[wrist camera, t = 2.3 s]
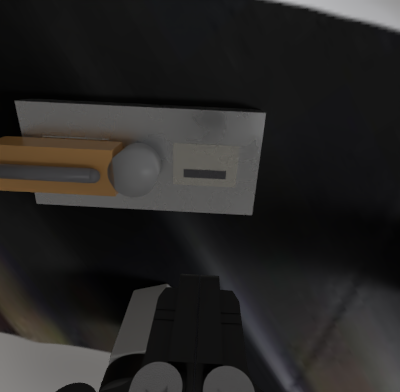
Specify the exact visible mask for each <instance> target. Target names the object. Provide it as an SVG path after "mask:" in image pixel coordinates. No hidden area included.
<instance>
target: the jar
mask: <svg viewBox="0 0 400 392" xmlns="http://www.w3.org/2000/svg"><path fill="white" fill-rule="evenodd" d="M166 287H171V286H169V285H168V284H163V285H158V286H153V287H148V288H142V289H137V290H134V291H133V294H132V297H131V299H130V302H129V305H128V308H127V311H126V314H125V316H124V319H123V322H122V325H121V328H120V330H119V333H118V336H117V339H116V342H115V345H114V347H113V350H112V353H111V356H110V361H109V366H108V368H107V370H106V372H105V375H104V378H103V381H102V383H101V387H100V389H99V392H100V391H104V390H107V389H111V388H114V387H117V386H120V385H122V384H124V383H126V382H128V381H129V380H130V379H132V378H133V377H134V376H135V375H136V373H137V372H138V371H139V369H140V368H141V366H142V363H143V360H144V356H145V352H146V347H147V343H148V339H149V335H150V330H151V326H152V322H153V317H154V313H155V310H156V305H157V300H158V297H159V295H160V294H161V293H162V292H163V290H164V289H165V288H166Z"/></svg>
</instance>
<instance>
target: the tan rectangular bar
mask: <svg viewBox="0 0 400 392" xmlns="http://www.w3.org/2000/svg"><path fill="white" fill-rule="evenodd" d="M161 169H162V163H161V159H160V156H159V155H158V153H157V152H156V151H155V150H154V149H153V148H152V147H151V146H149V145H146V144H143V143H133V144H130V145H128V146H126V147H125V148H124V149H123V144H122V142H113V141H93V140H73V139H54V138H34V137H14V136H5V137H1V138H0V190H3V191H22V192H40V193H59V194H78V195H96V196H116V195H117V194H118V193H120V194H122V195H124V196H127V197H141V196H144V195H146V194H147V193H149V192H150V191H151V190H152V188H153V187H154V185H155V183H156V181H157V179H158V177H159V175H160V172H161Z"/></svg>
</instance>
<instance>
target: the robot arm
mask: <svg viewBox="0 0 400 392" xmlns="http://www.w3.org/2000/svg"><path fill="white" fill-rule="evenodd" d="M198 286H199V275H189V274H181V275H180V282H179V288H174V287H166V288H165V289H164V290H163V292H162V293H161V294H160V295H159V297H158V300H157V305H156V310H155V313H154V317H153V322H152V326H151V330H150V335H149V339H148V343H147V347H146V352H145V356H144V360H143V363H142V366H141V368H140V369H139V371H138V372H137V373H136V375H135V376H134V377H133V378H132V379H130V380H129V381H128V382H126V383H124V384H122V385H120V386H117V387H114V388H111V389H107V390H104V391H100V392H193V377H194V359H195V341H196V323H197V305H198ZM56 392H96V391H95V390H94V388H93V387H91V386H90V385H88V384H85V383H73V384H69V385H66V386H65V387H62V388H61V389H59V390H58V391H56ZM195 392H263V391H262V390H261V389H260V388H259V387H258V386H257V385H256V384H255V383H254V381H253V380H252V378H251V376H250V374H249V371H248V367H247V360H246V353H245V345H244V337H243V329H242V321H241V313H240V305H239V301H238V299H237V297H236V296H235V294H234V293H233V291H227V290H220V284H219V276H208V275H201V279H200V297H199V315H198V335H197V356H196V376H195Z"/></svg>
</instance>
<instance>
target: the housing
mask: <svg viewBox="0 0 400 392" xmlns="http://www.w3.org/2000/svg"><path fill="white" fill-rule="evenodd" d="M15 106H16V110H17V115H18V119H19V124H20V128H21V133H22V137H34V138H54V139H73V140H93V141H113V142H122V144H123V149H124V148H125V147H126V146H128V145H130V144H133V143H143V144H146V145H149V146H151V147H152V148H153V149H154V150H155V151H156V152H157V153H158V155H159V156H160V159H161V163H162V169H161V172H160V175H159V177H158V179H157V181H156V183H155V185H154V187H153V188H152V190H151V191H150V192H149V193H147V194H146V195H144V196H141V197H127V196H124V195H122V194H120V193H118V194H117V195H116V196H96V195H78V194H59V193H40V192H35V197H36V202H37V204H53V205H72V206H90V207H109V208H127V209H146V210H164V211H183V212H201V213H220V214H238V215H252V212H253V205H254V197H255V190H256V182H257V175H258V168H259V160H260V153H261V145H262V138H263V131H264V123H265V116H266V113H265V112H264V111H262V110H258V109H238V108H217V107H197V106H176V105H156V104H135V103H115V102H94V101H74V100H53V99H33V98H31V99H24V100H16V101H15Z"/></svg>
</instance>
